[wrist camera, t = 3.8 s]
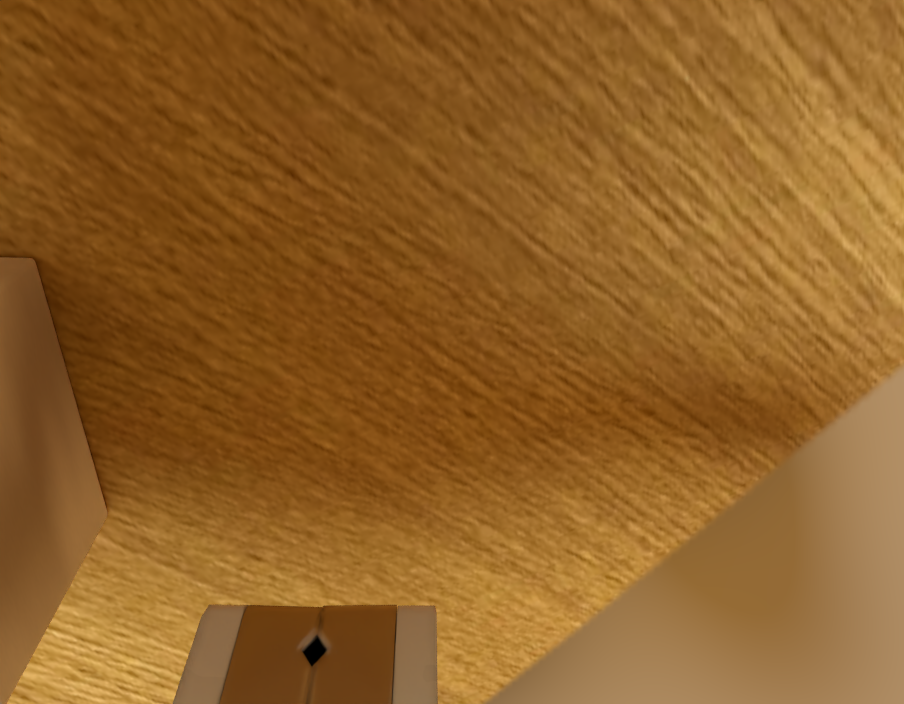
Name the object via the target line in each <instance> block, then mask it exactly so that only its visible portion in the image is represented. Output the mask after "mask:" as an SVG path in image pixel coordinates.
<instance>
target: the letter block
mask: <svg viewBox="0 0 904 704" xmlns="http://www.w3.org/2000/svg"><path fill="white" fill-rule="evenodd" d="M107 515H108V512H107V508H106V505H105V502H104V498H103V495H102V491H101V488H100V484H99V481H98V477H97V474H96V470H95V467H94V463H93V460H92V456H91V453H90V449H89V446H88V442H87V439H86V436H85V432H84V429H83V425H82V422H81V418H80V415H79V411H78V408H77V404H76V401H75V397H74V394H73V390H72V387H71V383H70V380H69V376H68V373H67V370H66V366H65V363H64V359H63V356H62V352H61V349H60V345H59V342H58V338H57V335H56V331H55V328H54V324H53V321H52V317H51V314H50V311H49V307H48V304H47V300H46V297H45V293H44V290H43V286H42V283H41V279H40V276H39V272H38V269H37V265H36V262H35V260H34V259H32V258H10V257H0V704H6V703H7V702H8V700H9V698H10V696H11V694H12V692H13V690H14V689H15V687H16V685H17V683H18V681H19V679H20V678H21V676H22V674H23V672H24V670H25V668H26V666H27V665H28V663H29V661H30V659H31V657H32V655H33V653H34V652H35V650H36V648H37V646H38V644H39V642H40V640H41V639H42V637H43V635H44V633H45V631H46V629H47V627H48V626H49V624H50V622H51V620H52V618H53V616H54V614H55V613H56V611H57V609H58V607H59V605H60V603H61V601H62V600H63V598H64V596H65V594H66V592H67V590H68V588H69V587H70V585H71V583H72V581H73V579H74V577H75V575H76V574H77V572H78V570H79V568H80V566H81V564H82V563H83V561H84V559H85V557H86V555H87V553H88V551H89V550H90V548H91V546H92V544H93V542H94V540H95V538H96V537H97V535H98V533H99V531H100V529H101V527H102V525H103V524H104V522H105V520H106V518H107Z"/></svg>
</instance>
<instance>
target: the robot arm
mask: <svg viewBox="0 0 904 704" xmlns="http://www.w3.org/2000/svg"><path fill="white" fill-rule="evenodd" d="M173 704H438V701H437V617H436V608H435V606H398V609H397V605H337V606H323V607H298V606H264V605H209V606H208V607H207V609H206V611H205V612H204V614H203V615H202V617H201V620H200V623H199V626H198V629H197V632H196V635H195V638H194V641H193V644H192V647H191V650H190V653H189V656H188V659H187V662H186V665H185V668H184V671H183V674H182V677H181V680H180V683H179V686H178V689H177V692H176V695H175V698H174V701H173Z"/></svg>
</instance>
